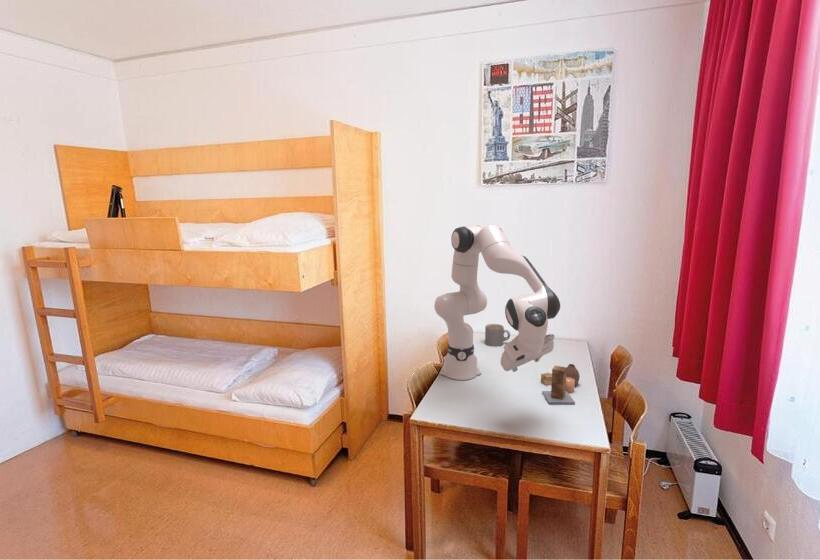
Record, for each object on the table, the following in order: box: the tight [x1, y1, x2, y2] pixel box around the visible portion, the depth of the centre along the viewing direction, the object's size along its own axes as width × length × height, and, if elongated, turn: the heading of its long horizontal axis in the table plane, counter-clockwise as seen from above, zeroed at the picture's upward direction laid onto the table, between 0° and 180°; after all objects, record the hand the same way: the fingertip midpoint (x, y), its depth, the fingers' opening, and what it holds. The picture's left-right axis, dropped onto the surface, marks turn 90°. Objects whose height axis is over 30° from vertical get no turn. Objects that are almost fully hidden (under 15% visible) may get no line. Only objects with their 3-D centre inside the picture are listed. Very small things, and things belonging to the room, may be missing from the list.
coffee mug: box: [484, 323, 511, 348], centre depth 238 cm, size 13×10×10 cm
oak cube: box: [540, 372, 552, 387], centre depth 187 cm, size 4×4×4 cm
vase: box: [566, 363, 581, 387], centre depth 186 cm, size 7×7×9 cm
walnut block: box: [550, 365, 567, 400], centre depth 172 cm, size 4×4×12 cm
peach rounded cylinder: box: [565, 377, 576, 394], centre depth 180 cm, size 5×5×5 cm
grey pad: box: [541, 390, 576, 406], centre depth 173 cm, size 10×10×1 cm
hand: (525, 365), depth 159 cm, fingers open, 8 cm apart
